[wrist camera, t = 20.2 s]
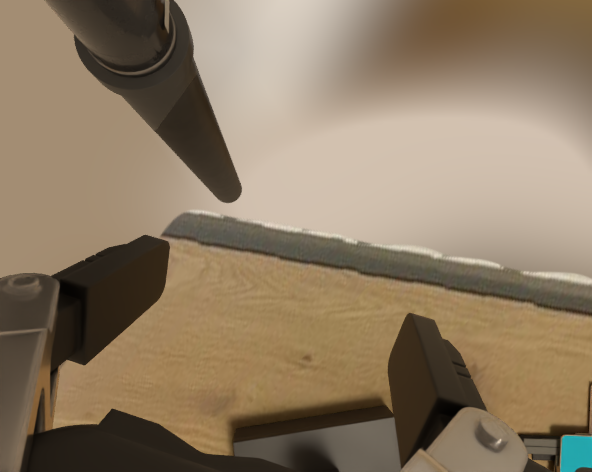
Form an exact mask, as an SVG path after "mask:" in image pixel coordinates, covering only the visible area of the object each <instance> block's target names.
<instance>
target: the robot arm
mask: <svg viewBox="0 0 592 472" xmlns="http://www.w3.org/2000/svg"><path fill="white" fill-rule="evenodd" d="M44 1H45V2H46V3H47V4H48V5H49V6H50V7H51V9H52V10H53V11H54V12H55V13H56V14H57V15H58V16H59V18H60V19H61V20H62V21H63V22H64V23H65V24H66V25H67V27H68V28H69V29H70V30H71V31H72V32H73V33H74V35H75V36H76V37H77V38H78V39H79V40H80V42H81V43H82V44H83V45H84V46H85V47H86V48H87V50H88V51H89V53H90V54H91V55H92V57H93V58H94V59H95V60H96V61H97V62H98V63H99V64H100V65H101V66H102V67H103V68H105V69H106V70H108V71H109V72H111V73H113V74H116V75H118V76H122V77H128V78H139V77H145V76H148V75H151V74H153V73H155V72H157V71H158V70H160V69H161V68H162V67H164V66H165V65H166V64H167V63H168V61H169V60H170V59H171V57H172V55H173V53H174V51H175V48H176V43H177V30H176V25H175V22H174V20H173V17H172V15H171V13H170V11H169V0H44ZM169 250H170V246H169V243H168V241H165V240H162V239H158V238H154V237H151V236H148V235H143V236H141V237H140V238H138V239H136V240H134V241H132V242H130V243H128V244H123V245H118V246H113V247H109V248H107V249H105V250H103V251H101V252H98V253H97V254H96V255H92V256H91V257H88V258H86V259H85V261H84V260H83V261H80V262H78V263H76V264H74V265H72V266H70V267H68V268H66V269H64V270H62V271H60V272H58V273H56V274H54V275H52V276H48V275H44V274H37V273H23V274H15V275H9V276H6V277H3V278H0V472H300V471H297V470H294V469H291V468H288V467H285V466H282V465H279V464H276V463H273V462H270V461H267V460H264V459H261V458H253V457H239V456H225V455H212V454H205V453H202V452H200V451H198V450H196V449H195V448H193V447H192V446H191V445H189V444H188V443H186V442H185V441H183V440H182V439H180V438H179V437H177V436H176V435H174V434H173V433H171V432H170V431H168V430H167V429H165V428H164V427H162V426H161V425H159V424H157V423H154V422H151V421H148V420H145V419H142V418H139V417H136V416H133V415H130V414H127V413H124V412H121V411H118V410H115V409H111V411H110V412H109V413H108V414H107V415H106V416H105V418H104V419H103V420H102V421H101V422H100V423H99V425H97V424H87V425H73V426H65V427H60V428H56V429H52V428H53V420H54V412H55V405H56V397H57V389H58V382H59V366H60V365H61V364H62V363H63V362H64V361H66V360H70V361H73V362H76V363H79V364H82V365H86V364H87V363H88V362H89V361H90V360H92V359H93V358H94V357H95V356H96V355H97V354H98V353H99V352H101V351H102V350H103V349H104V348H105V347H106V346H107V345H108V344H110V343H111V342H112V341H113V340H114V339H115V338H116V337H117V336H118V335H120V334H121V333H122V332H123V331H124V330H125V329H126V328H127V327H129V326H130V325H131V324H132V323H133V322H134V321H135V320H136V319H138V318H139V317H140V316H141V315H142V314H143V313H144V312H145V311H147V310H148V309H149V308H150V307H151V306H152V305H153V304H154V303H156V302H157V301H158V299H159V298H160V296H161V295H162V293H163V290H164V287H165V283H166V275H167V267H168V259H169ZM388 378H389V385H390V392H391V399H392V406H393V413H394V420H395V427H396V434H397V441H398V448H399V455H400V462H401V471H400V472H552V471H551V470H549V469H547V468H545V467H543V466H541V465H540V464H538V463H536V462H534V461H533V460H531V459H529V458H528V452H527V449H526V447H525V445H524V443H523V442H522V440H521V439H520V437H519V436H518V435H517V434H516V433H515V432H514V431H513V429H512V428H510V427H509V426H508V425H507V424H506V423H505V422H503V421H502V420H501V419H499V418H497V417H496V416H494V415H492V414H491V413H489V412H487V409H486V407H485V405H484V403H483V401H482V399H481V397H480V395H479V392H478V390H477V388H476V386H475V384H474V382H473V380H472V379H471V376H470V373H469V371H468V369H467V368H466V365H465V363H464V361H463V359H462V356H461V354H460V353H459V352H458V351H457V349H456V348H455V347H454V346H453V345H452V344H451V343H450V342H449V341H448V340H445V339H442V337H441V334H440V332H439V330H438V327H437V325H436V323H435V321H434V320H433V319H429V318H426V317H422V316H419V315H416V314H412V313H409V314H407V316H406V317H405V320H404V322H403V324H402V327H401V329H400V332H399V334H398V337H397V339H396V342H395V344H394V346H393V349H392V351H391V354H390V358H389V362H388ZM575 472H592V468H588V467H580V468H578V469H577V470H576V471H575Z"/></svg>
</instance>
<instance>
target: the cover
mask: <svg viewBox="0 0 592 472" xmlns="http://www.w3.org/2000/svg"><path fill="white" fill-rule="evenodd" d="M233 447H234V456H239V457H253V458H261V459H264V460H267V461H270V462H273V463H276V464H279V465H282V466H285V467H288V468H291V469H294V470H297V471H300V472H400V471H401V462H400V455H399V448H398V441H397V434H396V427H395V420H394V415H393V414H392V412H391V411H390V410H389V408H388V407H387V406H386V405H385V406H379V407H372V408H366V409H359V410H353V411H347V412H340V413H334V414H328V415H321V416H315V417H308V418H302V419H296V420H289V421H283V422H277V423H270V424H264V425H257V426H251V427H245V428H238V429H236V430H235V435H234V441H233Z"/></svg>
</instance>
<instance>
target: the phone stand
mask: <svg viewBox="0 0 592 472" xmlns="http://www.w3.org/2000/svg"><path fill="white" fill-rule="evenodd" d="M520 439H521V440H522V442H524V445H525V447H526V449H527V452H528V454H533V455H532V459H533V460H552V461H554V472H575V471H576V470H577V469H578V468H580V467H588V468H592V385H591V399H590V422H589V434H586V433H575V435H563V436H541V435H533V436H532V435H520Z"/></svg>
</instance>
